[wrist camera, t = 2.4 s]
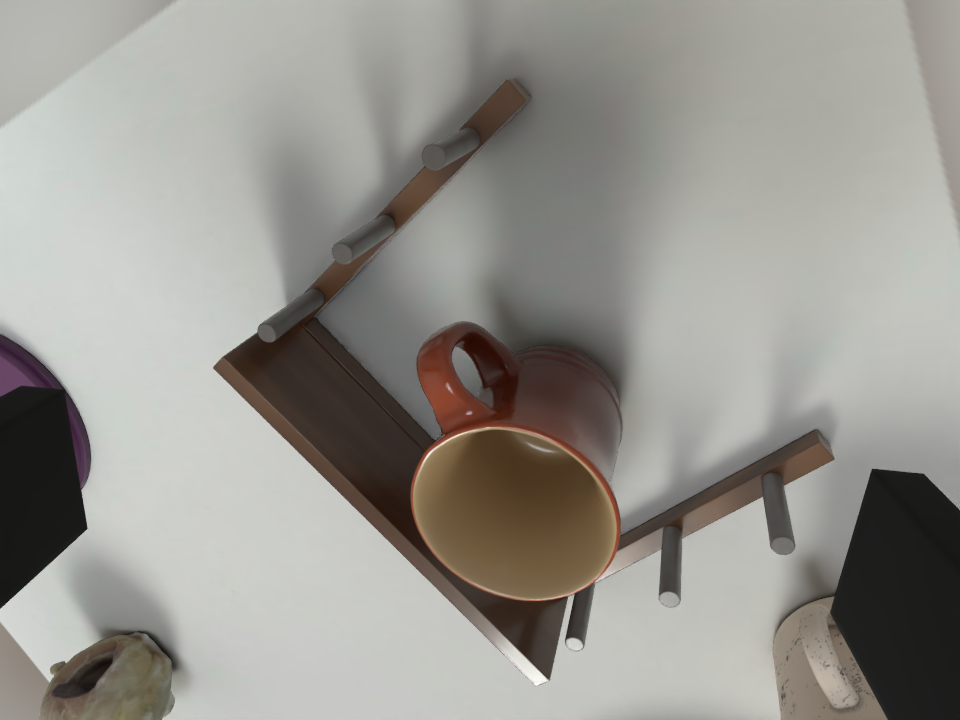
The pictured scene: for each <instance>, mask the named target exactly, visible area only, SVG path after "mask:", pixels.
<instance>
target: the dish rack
mask: <svg viewBox="0 0 960 720" xmlns="http://www.w3.org/2000/svg"><path fill="white" fill-rule="evenodd" d="M530 99H531V97H530V96H529V94H528V93H527V92H526V91H525V90H524V89H523V87H522V86H521V85H520V84H519V83H518V82H517V81H516V79H515V78H512V79H508V80H506V82H505V83H504V84H503V85H502V86H501V87H500V88H499V89H498V90H497V91H496V92H495V93H494V94H493V95H492V96H491V97H490V98H489V99H488V100H487V102H486V103H485V104H484V105H483V106H482V107H481V108H480V109H479V110H478V111H477V112H476V113H475V114H474V115H473V116H472V117H471V118H470V119H469V120H468V122H467V123H466V124H465V125H464V126H463V127H462V128H461V129H460V130H459V131H458V132H456V133H453V134H451V135H449V136H447V137H445V138H442V139H440V140H438V141H436V142H434V143H432V144H429V145H427V146H426V147H425V148H424V150H423V152H422V161H423V163H424V165H425V167H424V168H423V169H422V170H421V171H420V172H419V173H418V174H417V175H416V176H415V177H414V178H413V179H412V180H411V181H410V183H409V184H408V185H407V186H406V187H405V188H404V189H403V190H402V191H401V192H400V193H399V194H398V195H397V196H396V197H395V198H394V199H393V200H392V201H391V203H390V204H389V205H388V206H387V207H386V208H385V209H384V210H383V211H382V212H381V213H380V214H379V215H378V216H377V217H376V218H375V219H374V220H373V221H372V222H370V223H368V224H367V225H365V226H363V227H362V228H360V229H359V230H357V231H355V232H354V233H352V234H350V235H349V236H347V237H346V238H344V239H342V240H341V241H339V242H337V243H336V244H335V245H334V246H333V248H332V255H333V258H334V259H335V261H334V263H333V264H332V265H331V266H330V267H329V268H328V269H327V270H326V271H325V272H324V273H323V274H322V275H321V276H320V277H319V278H318V279H317V280H316V281H315V283H314V284H313V285H312V286H311V287H310V288H309V289H308V290H307V291H306V292H305V293H304V294H303V295H302V296H300V297H299V298H297V299H296V300H295V301H293V302H292V303H290V304H289V305H287V306H286V307H284V308H283V309H282V310H280V311H279V312H277V313H276V314H274V315H273V316H271V317H270V318H269V319H267V320H266V321H264V322H263V323H261V324H260V325H259V327H258V332H257V333H256V334H254V335H253V336H251V337H250V338H249V339H247V340H246V341H244V342H243V343H241V344H240V345H239V346H237V347H236V348H234V349H233V350H232V351H230V352H229V353H227V354H226V355H225V356H223V357H222V358H221V359H220V360H219V361H218V363H217V364H216V365H215V366H214V367H213V368H214V370H215V371H216V372H218V373H219V374H220V375H221V376H222V377H223V378H224V379H225V380H226V381H227V382H228V383H229V384H230V385H231V386H232V387H233V388H234V389H235V390H236V391H237V392H238V393H239V394H240V395H241V396H242V397H243V398H244V399H245V400H246V401H247V402H248V403H249V404H250V405H251V406H252V407H253V408H254V409H255V410H256V411H257V412H258V413H259V414H260V415H261V416H262V417H263V418H264V419H265V420H266V421H267V422H268V423H269V424H270V425H271V426H272V427H273V428H274V429H275V430H276V431H277V432H278V433H279V434H280V435H281V436H282V437H283V438H284V439H285V440H287V441H288V442H289V443H290V444H291V445H292V446H293V447H294V448H295V449H296V450H297V451H298V452H299V453H300V454H301V455H302V456H303V457H304V458H305V459H306V460H307V461H308V462H309V463H310V464H311V465H312V466H313V467H314V468H315V469H316V470H317V471H318V472H319V473H320V474H321V475H322V476H323V477H324V478H325V479H326V480H327V481H328V482H329V483H330V484H331V485H332V486H333V487H334V488H335V489H336V490H337V491H338V492H339V493H340V494H341V495H342V496H343V497H344V498H345V499H346V500H347V501H348V502H349V503H350V504H351V505H352V506H353V507H354V508H356V509H357V510H358V511H359V512H360V513H361V514H362V515H363V516H364V517H365V518H366V519H367V520H368V521H369V522H370V523H371V524H372V525H373V526H374V527H375V528H376V529H377V530H378V531H379V532H380V533H381V534H382V535H383V536H384V537H385V538H386V539H387V540H388V541H389V542H390V543H391V544H392V545H393V546H394V547H395V548H396V549H397V550H398V551H399V552H400V553H401V554H402V555H403V556H404V557H405V558H406V559H407V560H408V561H409V562H410V563H411V564H412V565H413V566H414V567H415V568H416V569H417V570H418V571H419V572H420V573H421V574H422V575H423V576H424V577H426V578H427V579H428V580H429V581H430V582H431V583H432V584H433V585H434V586H435V587H436V588H437V589H438V590H439V591H440V592H441V593H442V594H443V595H444V596H445V597H446V598H447V599H448V600H449V601H450V602H451V603H452V604H453V605H454V606H455V607H456V608H457V609H458V610H459V611H460V612H461V613H462V614H463V615H464V616H465V617H466V618H467V619H468V620H469V621H470V622H471V623H472V624H473V625H474V626H475V627H476V628H477V629H478V630H479V631H480V632H481V633H482V634H483V635H484V636H485V637H486V638H487V639H488V640H489V641H490V642H491V643H492V644H493V645H495V646H496V647H497V648H498V649H499V650H500V651H501V652H502V653H503V654H504V655H505V656H506V657H507V658H508V659H509V660H510V661H511V662H512V663H513V664H514V665H515V666H516V667H517V668H518V669H519V670H520V671H521V672H522V673H523V674H524V675H525V676H526V677H527V678H528V679H529V680H530V681H531V682H532V683H533V684H534V685H535V686H539V685H541V684H543V683H545V682H547V681H549V680H550V677H551V672H552V668H553V663H554V658H555V654H556V649H557V645H558V640H559V636H560V631H561V627H562V622H563V617H564V613H565V608H566V604H567V599H568V597H570V596H572V595H573V594H572V595H569V596H566V597H563V598H558V599H554V600H546V601H523V600H515V599H510V598H505V597H501V596H498V595H494V594H492V593H489V592H486V591H484V590H481V589H479V588H477V587H475V586H473V585H471V584H469V583H468V582H466V581H464V580H463V579H461V578H460V577H458V576H457V575H455V574H454V573H453V572H451V571H450V570H449V569H448V568H447V567H445V566H444V565H443V564H442V563H441V562H440V561H439V560H438V559H437V557H436V556H435V555H434V554H433V553H432V552H431V550H430V549H429V548H428V546H427V545H426V543H425V541H424V540H423V538H422V536H421V534H420V533H419V531H418V528H417V526H416V523H415V520H414V517H413V513H412V508H411V485H412V480H413V476H414V473H415V470H416V468H417V465H418V463H419V461H420V459H421V457H422V455H423V454H424V452H425V451H426V450H427V448H428V447H430V446H431V445H432V444H433V443H434V442H435V441H434V440H433V439H432V438H431V437H430V436H429V435H428V434H427V433H426V432H425V431H424V430H423V429H422V428H421V427H420V426H419V425H418V424H417V423H416V422H415V421H414V420H413V419H412V418H411V417H410V416H409V415H408V414H407V413H406V412H405V411H404V410H403V409H402V408H401V406H400V405H399V404H398V403H397V402H396V401H395V400H394V399H393V398H392V397H391V396H390V395H389V394H388V393H387V392H386V391H385V390H384V389H383V388H382V387H381V386H380V385H379V384H378V383H377V382H376V381H375V380H374V379H373V378H372V377H371V376H370V375H369V374H368V373H367V372H366V370H365V369H364V368H363V367H362V366H361V365H360V364H359V363H358V362H357V361H356V360H355V359H354V358H353V357H352V356H351V355H350V354H349V353H348V352H347V351H346V350H345V349H344V348H343V347H342V346H341V345H340V344H339V343H338V342H337V341H336V340H335V339H334V338H333V337H332V336H331V334H330V333H329V332H328V331H327V330H326V329H325V328H324V327H323V326H322V325H321V324H320V323H319V322H318V321H317V320H316V319H315V317H316V316H317V315H318V314H319V313H320V312H321V311H322V310H323V309H324V308H325V307H326V306H327V305H328V304H329V303H330V302H331V300H332V299H333V298H334V297H335V296H336V295H337V294H338V293H339V292H340V291H341V290H342V289H343V288H344V287H345V286H346V285H347V284H348V283H349V282H350V281H351V280H352V279H353V278H354V277H355V276H356V275H357V274H358V273H359V272H360V271H361V270H362V269H363V268H364V267H365V266H366V265H367V264H368V263H369V262H370V261H371V260H372V259H373V258H374V257H375V256H376V255H377V254H378V253H379V252H380V251H381V250H382V249H383V248H384V247H385V246H386V245H387V244H388V243H389V242H390V241H391V240H392V239H393V238H394V237H395V236H396V235H397V234H398V233H399V232H400V231H401V230H402V229H403V228H404V227H405V226H406V225H407V224H408V223H409V222H410V221H411V220H412V219H413V218H414V217H415V216H416V215H417V214H418V213H419V212H420V211H421V210H422V209H423V208H424V207H425V206H426V205H427V204H428V202H429V201H430V200H431V199H432V198H433V197H434V196H435V195H436V194H437V193H438V192H439V191H440V190H441V189H442V188H443V187H444V186H445V185H446V184H447V183H448V182H449V181H450V180H451V179H452V178H453V177H454V176H455V175H456V174H457V173H458V172H459V171H460V170H461V169H462V168H463V167H464V166H465V165H466V164H467V163H468V162H469V161H470V160H471V159H472V158H473V157H474V156H475V155H476V154H477V153H478V152H479V151H480V150H481V149H482V148H483V147H484V146H485V145H486V144H487V143H488V142H489V141H490V140H491V139H492V138H493V137H494V136H495V135H496V134H497V133H498V132H499V131H500V130H501V129H502V128H503V127H504V126H505V125H506V124H507V123H508V122H509V121H510V120H511V119H512V118H513V117H514V116H515V115H516V114H517V113H518V112H519V111H520V110H521V109H522V108H523V107H524V106H525V105H526V103H527V102H528V101H529V100H530ZM832 460H834V455H833V452H832V449H831V446H830V445H829V444H828V443H827V441H826V440H825V439H824V438H823V437H822V436H821V434H820V433H819V432H818V431H817V430H815V431H813V432H811V433H809V434H807V435H806V436H804V437H802V438H800V439H798V440H796V441H795V442H793V443H791V444H789V445H787V446H785V447H784V448H782V449H780V450H778V451H776V452H774V453H773V454H771V455H769V456H767V457H765V458H763V459H762V460H760V461H758V462H756V463H754V464H753V465H751V466H749V467H747V468H745V469H743V470H742V471H740V472H738V473H736V474H734V475H732V476H731V477H729V478H727V479H725V480H723V481H721V482H720V483H718V484H716V485H714V486H712V487H710V488H709V489H707V490H705V491H703V492H701V493H699V494H698V495H696V496H694V497H692V498H690V499H689V500H687V501H685V502H683V503H681V504H679V505H678V506H676V507H674V508H672V509H670V510H668V511H667V512H665V513H663V514H661V515H659V516H657V517H656V518H654V519H652V520H650V521H648V522H646V523H645V524H643V525H641V526H639V527H637V528H635V529H634V530H632V531H630V532H628V533H626V534H625V535H623V536H621V537H620V541H619V546H618V549H617V552H616V554H615V557H614V559H613V560H612V562H611V564H610V566H609V567H608V568H607V570H606V571H605V572H604V573H603V575H602V576H601V577H600V578H599V579H597V580H596V581H595V582H594V583H593V584H591V585H590V586H588V587H587V588H585V589H583V590H581V591H579V592H577V593H575V596H574V600H573V605H572V610H571V615H570V620H569V624H568V629H567V634H566V639H565V644H566V646H567V647H568V648H569V649H570V650H573V651H580V650H582V649H583V648H584V644H585V639H586V633H587V627H588V622H589V616H590V610H591V605H592V599H593V593H594V588H595V583H597V582H599V581H601V580H602V579H604V578H606V577H608V576H610V575H612V574H614V573H616V572H618V571H620V570H622V569H624V568H626V567H628V566H630V565H631V564H633V563H635V562H637V561H639V560H641V559H643V558H645V557H647V556H649V555H651V554H653V553H655V552H657V551H658V550H660V549H662V553H661V569H660V585H659V601H660V602H661V604H663V605H664V606H666V607H676V606H677V605H679V603H680V601H681V561H682V538H684V537H686V536H687V535H689V534H691V533H693V532H695V531H697V530H699V529H701V528H703V527H705V526H707V525H709V524H711V523H713V522H715V521H716V520H718V519H720V518H722V517H724V516H726V515H728V514H730V513H732V512H734V511H736V510H738V509H740V508H742V507H744V506H745V505H747V504H749V503H751V502H753V501H755V500H757V499H759V498H761V497H763V499H764V506H765V513H766V519H767V526H768V533H769V540H770V547H771V549H772V550H773V551H774V552H775V553H777V554H780V555H787V554H790V553H791V552H793V551H794V549H795V541H794V536H793V531H792V525H791V520H790V515H789V510H788V505H787V500H786V495H785V489H784V485H786V484H788V483H790V482H792V481H794V480H796V479H798V478H800V477H802V476H803V475H805V474H807V473H809V472H811V471H813V470H815V469H817V468H819V467H821V466H823V465H825V464H827V463H829V462H830V461H832Z"/></svg>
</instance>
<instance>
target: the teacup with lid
mask: <svg viewBox="0 0 960 720" xmlns="http://www.w3.org/2000/svg"><path fill="white" fill-rule="evenodd" d="M834 597H835V596H833V597H828V598H823V599H820V600H816V601H814V602H811V603H809V604H807V605H805V606H803V607H801V608H799V609H798V610H796V611H795V612H793V613H792V614H791V615H790V616H789V617H788V618H787V619H786V620H785V621H784V622H783V623H782V625H781V626H780V628H779V629H778V631H777V634H776V636H775V639H774V644H773V657H774V665H775V673H776V681H777V689H778V697H779V705H780V714H781V720H888V719H887V718H886V716H885V714H884V712H883V710H882V708H881V707H880V705H879V703H878V701H877V699H876V697H875V695H874V694H873V692H872V690H871V688H870V686H869V684H868V682H867V681H866V679H865V677H864V675H863V673H862V671H861V669H860V668H859V666H858V664H857V662H856V660H855V658H854V657H853V655H852V653H851V651H850V649H849V647H848V645H847V644H846V642H845V640H844V638H843V636H842V634H841V632H840V631H839V629H838V627H837V625H836V623H835V621H834V619H833V618H832V616H831V614H830V610H831V607H832V603H833V600H834Z"/></svg>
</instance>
